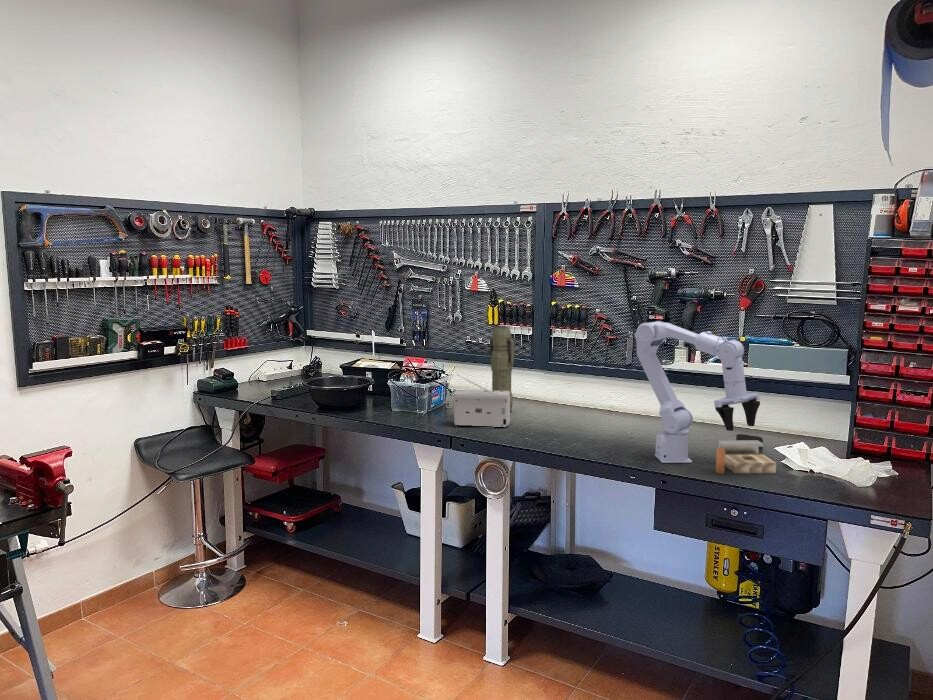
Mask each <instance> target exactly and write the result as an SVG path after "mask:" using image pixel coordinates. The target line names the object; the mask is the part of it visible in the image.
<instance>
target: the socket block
mask: <svg viewBox="0 0 933 700" xmlns="http://www.w3.org/2000/svg"><path fill="white" fill-rule="evenodd" d="M725 467H726V468H727V469H729V470H730V471H732V472H733V473H734V474H776V472H777V462H775V461H773V460H772V459H771V458H769V457H767V456H766V455H765V454H763V453H762V454H761V453H746V454H725Z"/></svg>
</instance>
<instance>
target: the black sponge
mask: <svg viewBox="0 0 933 700" xmlns="http://www.w3.org/2000/svg"><path fill="white" fill-rule="evenodd" d="M735 440H758V441H760V442H761V443H763V444H764V441H763V440H764V438H763V437H761V436H758V435H751V434H741V433H739V434H736V438H735ZM758 453H761V454H763V447H759V452H758Z"/></svg>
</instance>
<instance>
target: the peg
mask: <svg viewBox="0 0 933 700" xmlns="http://www.w3.org/2000/svg"><path fill="white" fill-rule="evenodd" d="M715 455H716V458H715V459H716V460H715V473H716V474H721V475H723V474H725V467H726V466H725V449H723V448H719V447H717V448H716V454H715Z"/></svg>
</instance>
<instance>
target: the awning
mask: <svg viewBox="0 0 933 700" xmlns="http://www.w3.org/2000/svg"><path fill="white" fill-rule="evenodd" d="M759 447H762V448H763V447H764V442H763V443H761V442H760V441H758V440H736V439H735V440H732V439H731V440H718V448H723V449H725V454H746V453H758V452H759Z"/></svg>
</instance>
